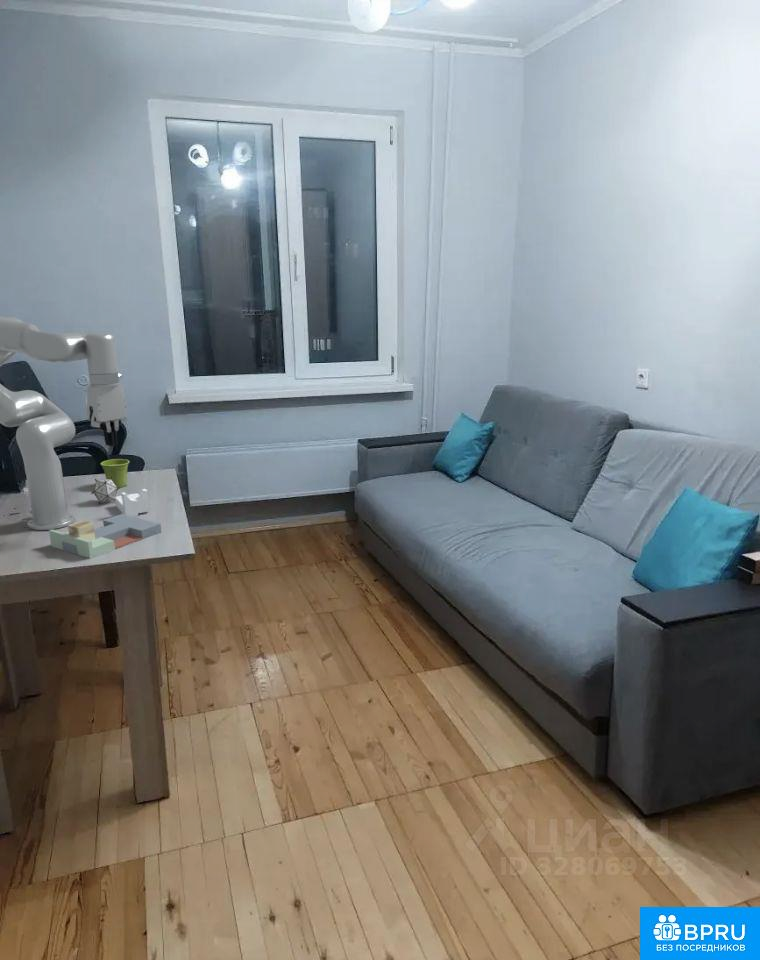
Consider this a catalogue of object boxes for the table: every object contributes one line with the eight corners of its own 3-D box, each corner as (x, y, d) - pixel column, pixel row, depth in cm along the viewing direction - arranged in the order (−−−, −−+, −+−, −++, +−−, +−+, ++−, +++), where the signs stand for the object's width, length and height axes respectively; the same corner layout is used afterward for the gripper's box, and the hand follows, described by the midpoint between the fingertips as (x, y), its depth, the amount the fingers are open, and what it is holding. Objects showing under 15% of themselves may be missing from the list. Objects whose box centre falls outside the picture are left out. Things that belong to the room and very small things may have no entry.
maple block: (69, 541, 182) (67, 525, 181) (84, 536, 186) (82, 520, 185) (80, 544, 180) (78, 528, 179) (95, 539, 184) (93, 523, 182)
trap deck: (51, 546, 186) (49, 530, 185) (122, 521, 205) (121, 507, 203) (90, 558, 177) (88, 542, 176) (161, 532, 196) (159, 517, 194)
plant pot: (126, 480, 248) (123, 457, 246) (135, 486, 241) (133, 462, 238) (100, 485, 242) (97, 461, 240) (108, 491, 235) (105, 467, 233)
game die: (111, 514, 223) (111, 495, 216) (86, 505, 223) (85, 486, 215) (124, 494, 229) (124, 475, 222) (99, 485, 229) (99, 466, 222)
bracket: (149, 514, 212) (147, 490, 210) (126, 518, 209) (123, 494, 206) (138, 503, 223) (135, 481, 221) (115, 507, 219) (113, 484, 217)
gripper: (118, 375, 195) (125, 438, 200) (71, 381, 183) (79, 448, 188) (136, 377, 191) (142, 441, 196) (88, 383, 179) (96, 452, 184)
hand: (111, 445), depth 192 cm, fingers closed
